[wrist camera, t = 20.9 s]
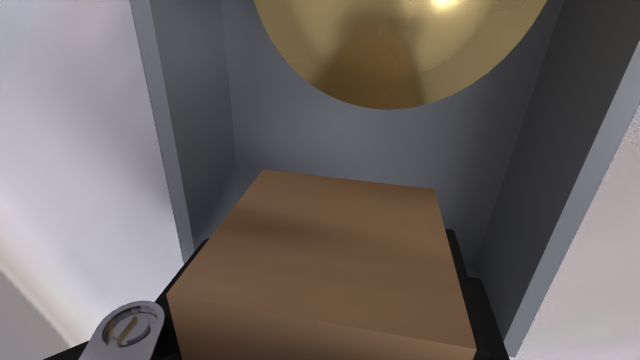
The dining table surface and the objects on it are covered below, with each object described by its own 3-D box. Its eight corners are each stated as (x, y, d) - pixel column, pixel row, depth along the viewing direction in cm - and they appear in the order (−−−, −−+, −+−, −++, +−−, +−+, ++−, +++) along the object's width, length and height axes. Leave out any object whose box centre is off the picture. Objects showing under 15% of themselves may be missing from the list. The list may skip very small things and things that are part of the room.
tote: (194, -202, 11) (58, -345, 6) (655, -228, 9) (918, -463, 4) (237, 230, 19) (190, 297, 14) (482, 266, 17) (514, 357, 12)
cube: (405, 313, 12) (417, 498, 7) (268, 290, 12) (203, 445, 8) (434, 188, 9) (476, 349, 5) (262, 169, 10) (166, 294, 6)
